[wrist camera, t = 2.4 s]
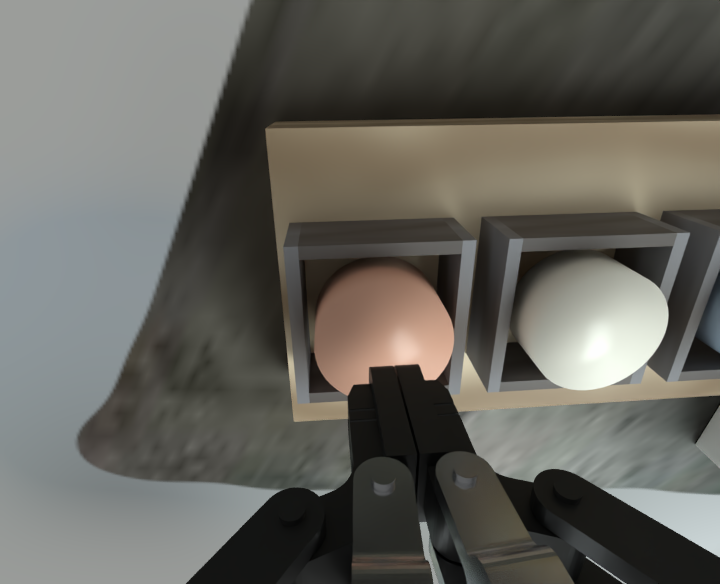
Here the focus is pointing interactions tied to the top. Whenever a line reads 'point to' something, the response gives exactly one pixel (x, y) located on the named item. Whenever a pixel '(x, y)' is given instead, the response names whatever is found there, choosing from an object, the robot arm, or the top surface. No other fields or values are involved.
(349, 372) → the terracotta button
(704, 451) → the milk
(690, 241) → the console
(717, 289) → the slate blue button
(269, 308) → the top surface
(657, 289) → the cream button
